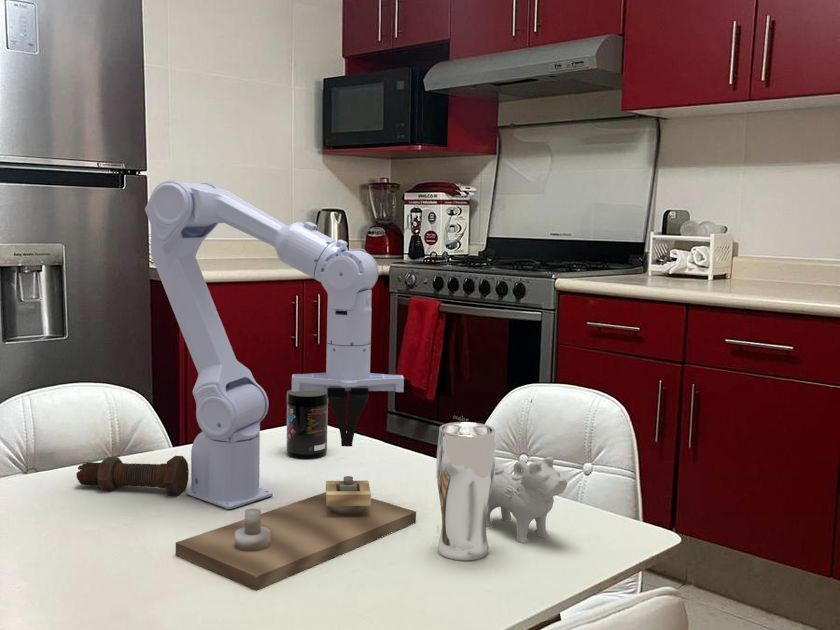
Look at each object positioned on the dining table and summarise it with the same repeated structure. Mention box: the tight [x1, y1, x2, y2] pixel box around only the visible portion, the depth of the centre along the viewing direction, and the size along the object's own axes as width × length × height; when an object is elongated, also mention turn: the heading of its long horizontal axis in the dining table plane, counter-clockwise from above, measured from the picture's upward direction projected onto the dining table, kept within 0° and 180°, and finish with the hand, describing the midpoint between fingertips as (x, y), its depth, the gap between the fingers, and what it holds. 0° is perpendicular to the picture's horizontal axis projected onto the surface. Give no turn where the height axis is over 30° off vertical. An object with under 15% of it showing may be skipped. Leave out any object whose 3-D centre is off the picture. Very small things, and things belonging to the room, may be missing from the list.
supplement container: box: [286, 388, 329, 460], centre depth 142 cm, size 7×7×10 cm
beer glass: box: [435, 421, 496, 562], centre depth 103 cm, size 7×7×15 cm
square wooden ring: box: [325, 480, 372, 506], centre depth 112 cm, size 6×6×2 cm
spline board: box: [175, 475, 417, 591], centre depth 106 cm, size 27×14×6 cm, turn 142°
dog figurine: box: [486, 456, 568, 545], centre depth 109 cm, size 5×13×11 cm, turn 40°
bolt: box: [76, 455, 190, 497], centre depth 122 cm, size 6×5×15 cm
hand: (346, 444), depth 114 cm, fingers closed
